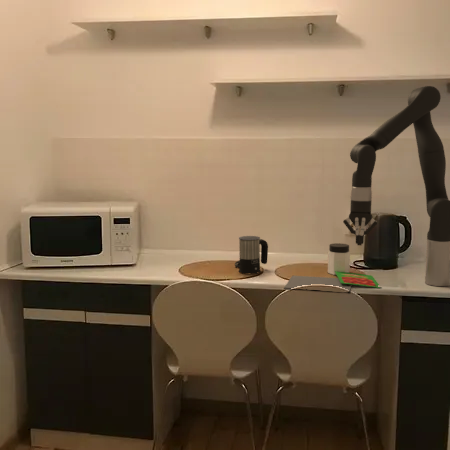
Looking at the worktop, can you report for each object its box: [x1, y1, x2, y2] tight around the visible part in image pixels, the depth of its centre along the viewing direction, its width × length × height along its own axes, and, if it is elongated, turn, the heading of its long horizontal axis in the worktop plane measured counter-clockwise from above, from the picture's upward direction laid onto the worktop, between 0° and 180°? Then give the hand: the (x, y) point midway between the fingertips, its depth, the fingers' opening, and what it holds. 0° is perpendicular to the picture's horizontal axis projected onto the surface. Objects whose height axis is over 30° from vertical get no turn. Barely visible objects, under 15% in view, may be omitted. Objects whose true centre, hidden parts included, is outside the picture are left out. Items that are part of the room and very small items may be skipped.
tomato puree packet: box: [335, 271, 381, 289], centre depth 230 cm, size 15×1×20 cm
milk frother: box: [234, 235, 269, 274], centre depth 251 cm, size 14×16×15 cm
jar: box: [327, 242, 351, 276], centre depth 244 cm, size 9×8×12 cm
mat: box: [283, 275, 352, 291], centre depth 226 cm, size 24×20×1 cm
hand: (359, 245), depth 219 cm, fingers closed
